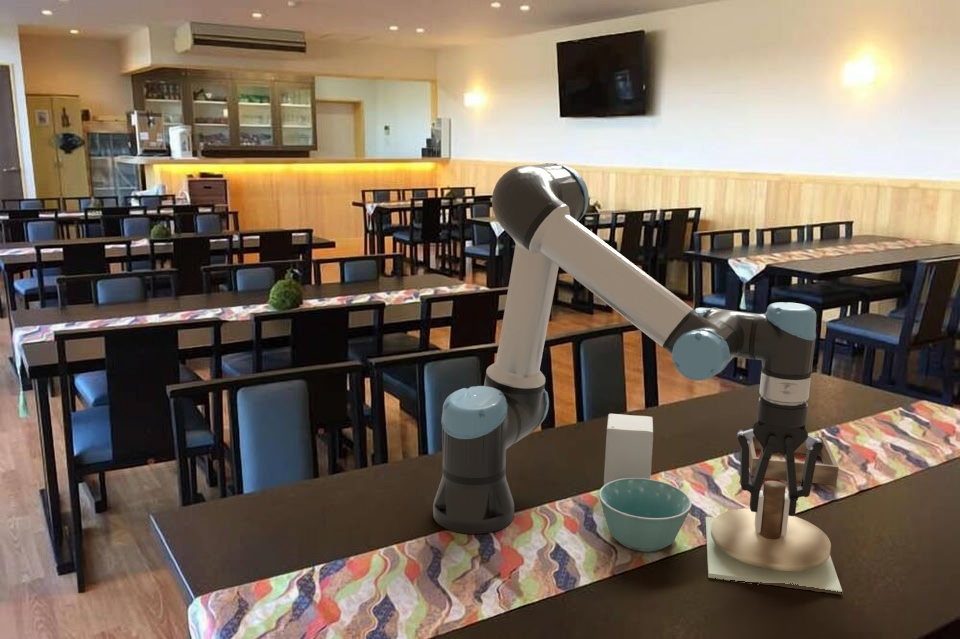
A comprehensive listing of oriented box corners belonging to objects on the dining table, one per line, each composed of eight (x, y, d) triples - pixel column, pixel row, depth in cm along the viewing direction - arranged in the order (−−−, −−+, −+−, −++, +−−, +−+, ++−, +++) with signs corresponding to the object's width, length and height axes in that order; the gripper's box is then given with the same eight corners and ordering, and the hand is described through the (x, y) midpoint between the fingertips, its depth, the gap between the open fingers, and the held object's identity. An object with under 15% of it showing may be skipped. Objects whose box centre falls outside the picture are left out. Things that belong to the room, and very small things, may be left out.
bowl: (704, 539, 141) (708, 496, 139) (657, 573, 130) (661, 527, 128) (629, 510, 151) (631, 470, 149) (579, 540, 140) (581, 496, 138)
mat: (708, 577, 129) (708, 573, 128) (705, 520, 147) (705, 516, 147) (841, 595, 124) (842, 591, 124) (821, 534, 143) (821, 530, 143)
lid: (711, 561, 128) (716, 503, 126) (710, 508, 146) (714, 456, 144) (839, 578, 124) (846, 518, 121) (821, 522, 141) (827, 468, 139)
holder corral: (751, 476, 167) (752, 458, 166) (745, 446, 182) (746, 430, 181) (836, 485, 163) (838, 467, 162) (823, 454, 178) (825, 437, 177)
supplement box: (649, 505, 153) (653, 432, 150) (602, 500, 155) (605, 428, 152) (649, 485, 162) (653, 415, 159) (604, 481, 164) (608, 412, 160)
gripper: (731, 401, 128) (720, 534, 133) (842, 410, 124) (825, 547, 129) (729, 387, 135) (718, 514, 140) (833, 395, 131) (818, 526, 136)
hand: (770, 530), depth 135 cm, fingers closed on lid, 3 cm apart
